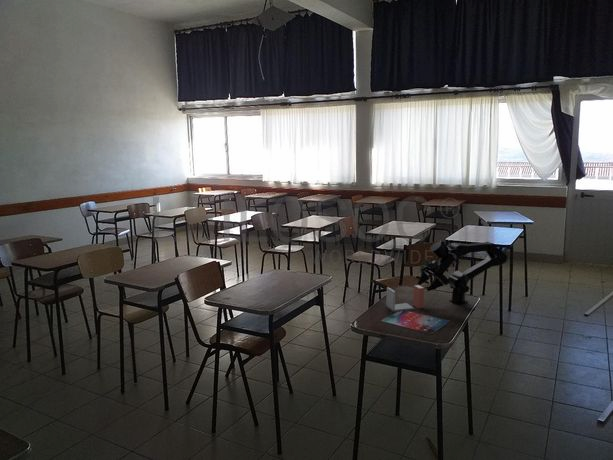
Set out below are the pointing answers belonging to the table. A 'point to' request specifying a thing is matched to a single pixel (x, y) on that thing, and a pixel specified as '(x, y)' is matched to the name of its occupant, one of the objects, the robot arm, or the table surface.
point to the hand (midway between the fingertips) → (422, 287)
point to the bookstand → (391, 302)
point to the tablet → (416, 321)
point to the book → (418, 296)
